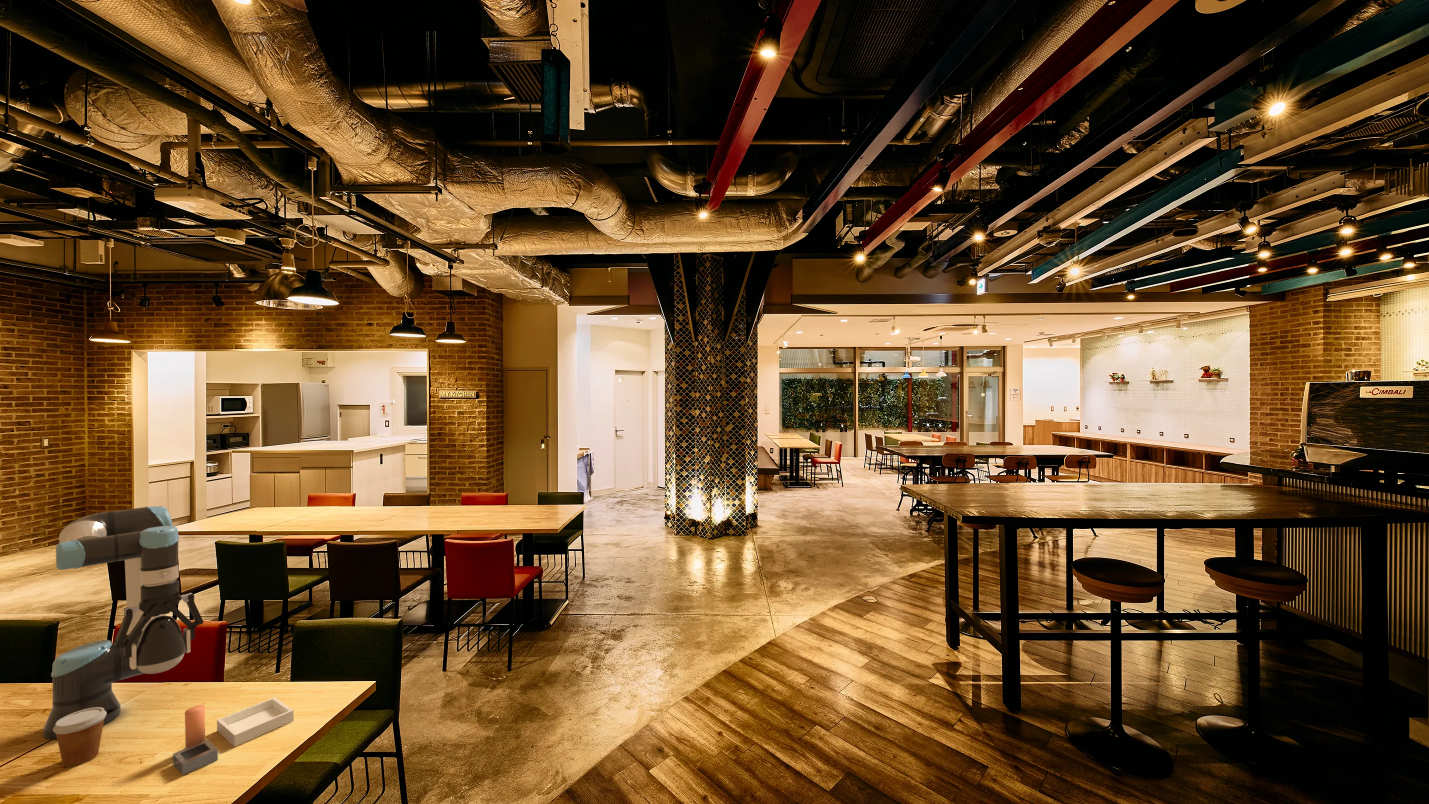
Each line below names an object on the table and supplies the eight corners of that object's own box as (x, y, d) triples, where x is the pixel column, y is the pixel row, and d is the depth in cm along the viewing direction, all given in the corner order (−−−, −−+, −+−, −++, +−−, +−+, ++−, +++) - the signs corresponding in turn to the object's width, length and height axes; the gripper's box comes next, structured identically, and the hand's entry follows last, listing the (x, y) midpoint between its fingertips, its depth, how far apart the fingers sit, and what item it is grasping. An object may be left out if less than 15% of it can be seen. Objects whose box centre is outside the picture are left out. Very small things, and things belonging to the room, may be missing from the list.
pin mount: (173, 764, 143) (172, 753, 143) (207, 749, 149) (207, 739, 149) (182, 775, 139) (182, 764, 139) (217, 759, 145) (217, 749, 145)
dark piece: (139, 682, 142) (139, 627, 142) (130, 672, 148) (129, 618, 148) (191, 666, 151) (190, 614, 151) (180, 656, 156) (180, 606, 156)
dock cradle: (217, 730, 157) (216, 719, 157) (274, 707, 169) (274, 696, 169) (234, 746, 150) (234, 735, 150) (293, 720, 162) (293, 710, 162)
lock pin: (183, 749, 149) (182, 710, 148) (202, 741, 152) (201, 703, 152) (188, 754, 146) (187, 715, 146) (207, 745, 150) (206, 707, 150)
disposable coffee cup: (69, 773, 139) (68, 729, 139) (43, 768, 141) (43, 724, 141) (116, 750, 149) (116, 708, 149) (91, 745, 151) (91, 704, 151)
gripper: (102, 597, 137) (103, 681, 138) (217, 572, 157) (218, 646, 157) (95, 592, 141) (97, 673, 141) (208, 568, 161) (209, 640, 161)
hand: (160, 659), depth 149 cm, fingers closed on dark piece, 10 cm apart
